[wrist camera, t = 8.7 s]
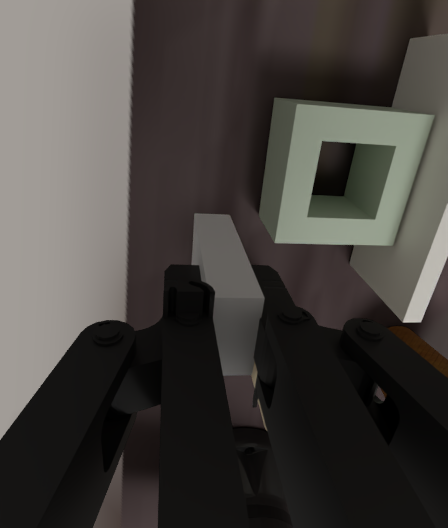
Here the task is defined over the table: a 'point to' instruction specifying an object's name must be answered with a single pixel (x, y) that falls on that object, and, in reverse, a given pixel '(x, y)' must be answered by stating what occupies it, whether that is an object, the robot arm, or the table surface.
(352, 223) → the sage green block
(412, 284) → the pale wall board
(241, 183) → the table surface
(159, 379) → the robot arm
